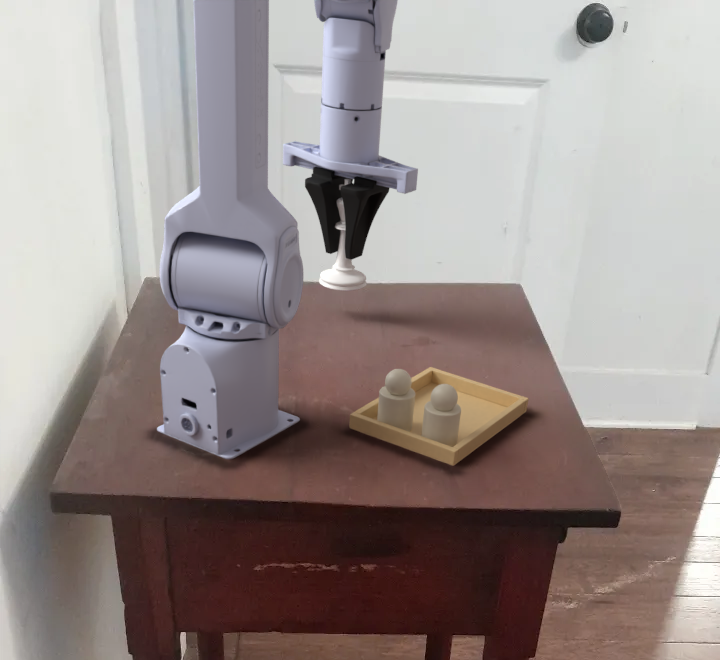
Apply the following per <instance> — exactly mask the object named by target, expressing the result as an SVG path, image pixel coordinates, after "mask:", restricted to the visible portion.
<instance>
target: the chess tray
mask: <svg viewBox="0 0 720 660" xmlns="http://www.w3.org/2000/svg"><path fill="white" fill-rule="evenodd" d="M411 381H412V384H411V389H413V390H414V391H415V403H414V413H413V423H412V429H411V431H410V432H408V431H406V430H403V429H400V428H397V427H394V426H392V425H389V424H386V423H383V422H380V421H377V416H378V403H379V396H378V397H377V398H375V399H374V400H372V401H370V402H368V403H366V404H365V405H363V406H362V407H360V408H358V409H357V410H355V411H353V412H351V413H350V414H349V423H348V424H349V429H351V430H354V431H357V432H360V433H362V434H365V435H367V436H370V437H373V438H375V439H378V440H382V441H384V442H387V443H390V444H392V445H395V446H398V447H401V448H403V449H405V450H409V451H411V452H415V453H417V454H420V455H422V456H425V457H427V458H431V459H433V460H436V461H439V462H441V463H444V464H447V465H450V466H455V465H457V464H458V463H459V462H460V461H462V460H463V459H465V458H466V457H467V456H469V455H470V454H471V453H472V452H474V451H475V450H476V449H478V448H479V447H481V446H482V445H483V444H485V443H486V442H487V441H489V440H490V439H492V438H493V437H494V436H495V435H497V434H498V433H499V432H501V431H502V430H503V429H505V428H507V427H508V426H509V425H510V424H512V423H513V422H514V421H516V420H517V419H518V418H520V417H521V416H523V415H524V414H525V413H527V410H528V406H529V400H530V398H529V397H526V396H523V395H519V394H517V393H513V392H511V391H507V390H504V389H502V388H498V387H494V386H491V385H489V384H485V383H482V382H480V381H477V380H473V379H470V378H467V377H464V376H461V375H459V374H458V375H457V374H454V373H451V372H448V371H445V370H442V369H439V368H436V367H433V366H429V367H427V368H426V369H424V370H423V371H421V372H419V373H417V374H416V375H414V376H412V377H411ZM440 384H449V385H451V386H452V387H454V388H455V390H456V392H457V394H458V401H457V404H458V405H459V406H460V407H461V416H460V424H459V431H458V439H457V444H456V445H455V446H454V447H450V446H448V445H445V444H442V443H439V442H436V441H434V440H431V439H428V438H425V437H422V436H421V435H422V425H423V416H424V407H425V404H426V403H427V402H429V401H431V393H432V391H433V389H434V388H435V387H436V386H438V385H440Z"/></svg>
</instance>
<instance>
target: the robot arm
mask: <svg viewBox="0 0 720 660" xmlns="http://www.w3.org/2000/svg"><path fill="white" fill-rule="evenodd" d="M398 1H399V0H313V3H314V10H315V15H316V18H317V19H318V20H319V21H320V22H321V23H323V28H322V30H323V31H322V33H323V34H322V63H321V65H322V66H321V67H322V68H321V91H320V92H321V96H320V122H319V123H320V125H319V126H320V127H319V144H315V143H307V142H301V141H296V140H294V141H290V142H286V143H283V144H282V165H283V166H286V167H295V166H296V167H299V168H304V169H308V170H312V173H311V176H308V177H307V178H305V179H304V188H305V190H306V191H307V193H308V195H309V196H310V199H311V202H312V204H313V206H314V209H315V212H316V215H317V218H318V221H319V225H320V229H321V233H322V239H323V243H324V248H325V253H326V254H330V255H332V254H334V253H335V254H336V253H338V247H339V240H340V232H341V230H339V229H336V228H335V225H336V223H337V222H340V221H341V218H340V215H339V210H338V207H337V200H338V199H339V198H342V199H343V205H344V212H345V224H346V230H345V256H346V258H347V259H352V260H354V259H356V258H359V257H362V256H363V253H364V249H365V245H366V242H367V239H368V236H369V233H370V229H371V227H372V224H373V222H374V219H375V217H376V215H377V214H378V211H379V209H380V207H381V205H382V203H383V202H384V200H385V199H386V197H387V196H388V194H389V192H390V189H393V190H396V192H397V193H400V194H404V195H406V194H409V193H413V192H416V190H417V187H418V186H417V185H418V175H419V168H417V167H413V166H410V165H406V164H403V163H400V162H398V161H395V160H392V159H390V158H387V157H384V156H382V155H380V141H381V129H382V128H381V126H382V123H381V122H382V112H383V99H384V98H383V97H384V82H385V66H386V53H387V50H389V49H390V48H391V43H392V37H393V26H394V21H395V17H396V12H397V8H398ZM192 5H193V36H194V59H195V60H194V62H195V64H194V67H195V92H196V94H195V95H196V96H195V97H196V119H197V120H196V121H197V122H196V123H197V148H198V149H197V153H198V155H197V156H198V180H199V182H198V183H199V185H198V186H197V188H195V189H194V190H193V191H191V192H190V193H188V194H187V195H186V196H185V197H183V198H182V199H180V200H179V201H178V202H176V203H175V204H174V205H173V206H172V207H171V208H170V210H169V211H168V212H167V214H166V215H165V217H164V224H163V244H162V245H163V246H162V249H161V250H162V251H161V255H160V259H159V282H160V283H159V284H160V287H161V291H162V294H163V296H164V298H165V300H166V302H167V304H168V306H169V307H170V308H171V309H173V310H174V311H177V314H178V315H177V317H178V324H180V325H184V326H185V328H184V330H183V332H182V334H181V336H179V338H178V339H177V340H176V341H174V342H173V343H172V344H171V345H169V346H168V347H167V348H166V349H165V350H164V352H163V354H162V356H161V359H160V365H159V374H160V390H161V402H162V405H161V406H162V416H163V417H162V419H163V424H161V425H159V426H158V427H156V431H157V432H158V433H160V434H163V435H164V436H165V435H166V436H167V437H170V438H173V439H175V440H178V441H180V442H182V443H185V444H187V445H190V446H193V447H195V448H198V449H200V450H202V451H205V452H207V453H210V454H212V455H214V456H217V457H220V458H222V459H224V460H233V459H235V458H237V457H239V456H240V455H242V454H244V453H246V452H248V451H249V450H251V449H253V448H255V447H256V446H258V445H260V444H262V443H264V442H266V441H267V440H269V439H271V438H273V437H274V436H276V435H277V434H279V433H282V432H283V431H285V430H286V429H288V428H290V427H291V426H295V424H297V423H299V422H300V421H301V419H300V417H298V416H297V415H293V414H292V413H289V412H285V411H283V410H281V409H279V394H280V393H279V388H280V386H279V385H280V381H279V380H280V379H279V377H280V375H279V374H280V330H281V329H284V328H285V327H286V326H287V325H288V324H289V323H290V322H291V321H293V319H294V318H295V316H296V314H297V312H298V309H299V307H300V303H301V299H302V295H303V288H304V263H303V259H302V255H301V250H300V232H299V229H298V227H299V226H298V221H297V220H296V218H295V217H294V216H293V215H292V213H291V212H290V211H289V210H288V209H287V208H286V207H285V205H284V204H283V203H281V202H280V201H279V200H278V199H277V198H276V196H275V195H274V194H273V193H272V192H271V191H270V189H269V67H270V66H269V65H270V64H269V59H270V58H269V57H270V55H269V54H270V53H269V52H270V51H269V50H270V49H269V44H270V43H269V41H270V40H269V39H270V38H269V37H270V36H269V34H270V33H269V32H270V29H269V28H270V0H192ZM345 179H351V183H350V184H347V185H345ZM341 184H343V185H344V186H341V190H339V185H341Z"/></svg>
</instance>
